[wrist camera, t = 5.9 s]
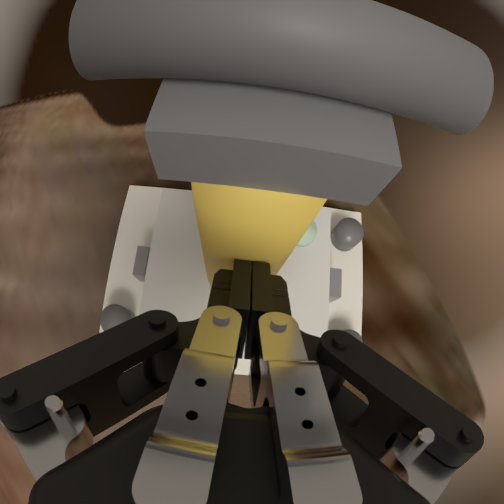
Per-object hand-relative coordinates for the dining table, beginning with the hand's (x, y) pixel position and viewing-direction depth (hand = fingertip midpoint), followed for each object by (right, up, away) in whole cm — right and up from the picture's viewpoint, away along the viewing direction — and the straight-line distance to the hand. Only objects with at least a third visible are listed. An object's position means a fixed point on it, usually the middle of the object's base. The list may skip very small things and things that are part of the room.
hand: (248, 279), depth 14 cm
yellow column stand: (-1, 0, +11) cm, 11 cm away
